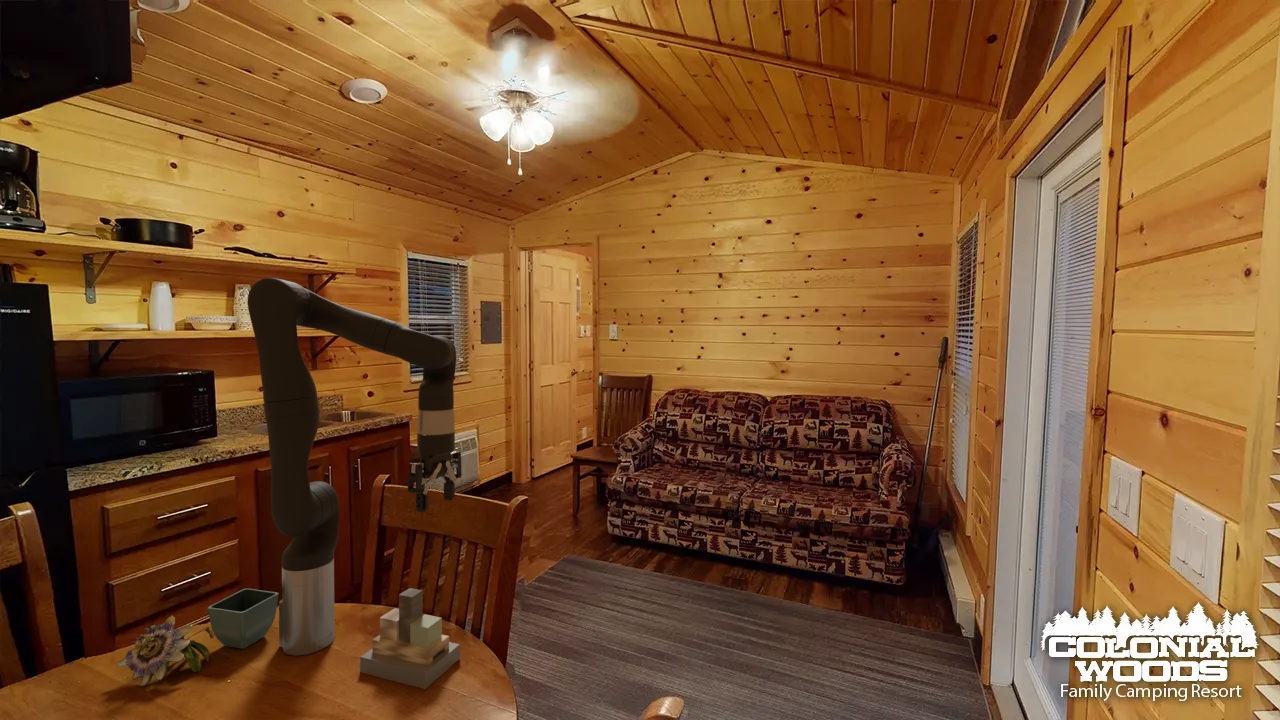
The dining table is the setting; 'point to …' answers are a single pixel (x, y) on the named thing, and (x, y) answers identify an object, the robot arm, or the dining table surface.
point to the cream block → (390, 625)
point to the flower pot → (243, 617)
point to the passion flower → (163, 651)
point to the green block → (426, 631)
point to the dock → (409, 667)
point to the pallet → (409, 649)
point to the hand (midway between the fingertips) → (436, 505)
